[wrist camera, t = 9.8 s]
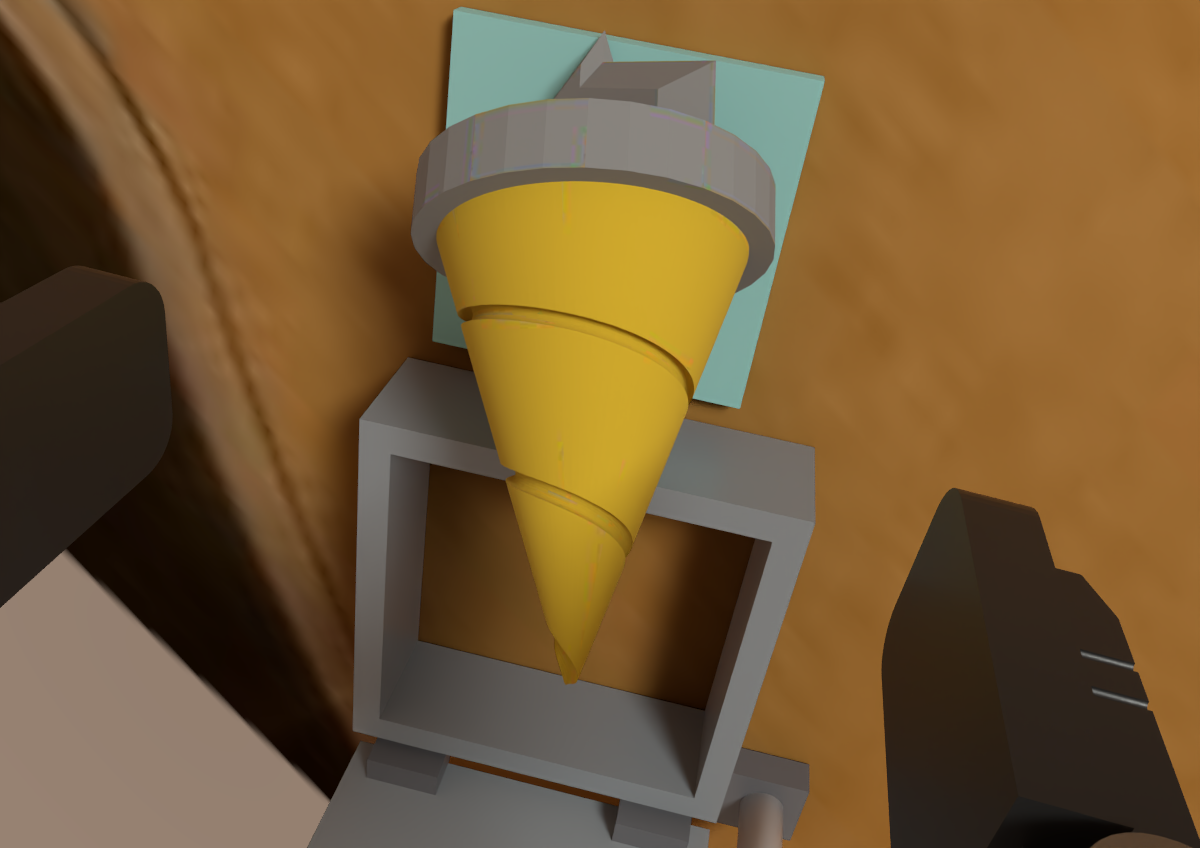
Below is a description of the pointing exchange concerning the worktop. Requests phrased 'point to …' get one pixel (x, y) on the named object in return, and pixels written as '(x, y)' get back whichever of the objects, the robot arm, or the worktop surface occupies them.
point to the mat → (742, 107)
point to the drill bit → (592, 298)
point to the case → (542, 700)
